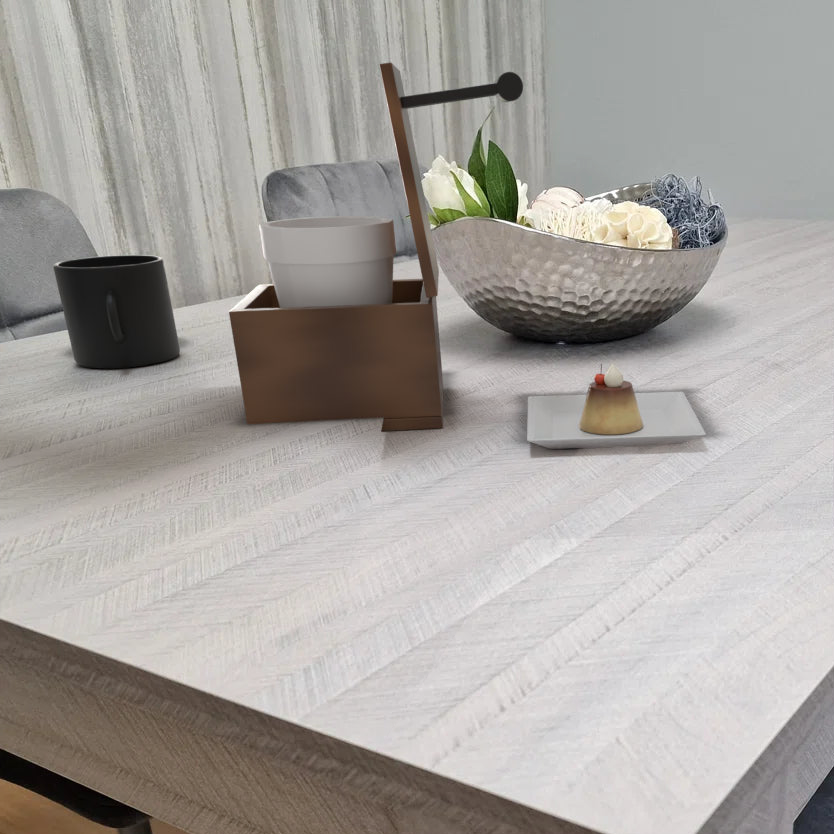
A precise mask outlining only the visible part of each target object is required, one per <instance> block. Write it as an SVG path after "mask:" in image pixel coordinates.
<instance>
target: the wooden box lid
mask: <svg viewBox="0 0 834 834" xmlns="http://www.w3.org/2000/svg"><path fill="white" fill-rule="evenodd" d="M378 65H379V70H380V74H381V75H380V76H381V79H382V84H383V90H384V95H385V101H386V105H387V110H388V114H389V121H390V124H391V125H390V126H391V130H392V134H393V135H392V136H393V139H394V144H395V149H396V154H397V155H396V156H397V160H398V164H399V170H400V175H401V179H402V185H403V188H404V195H405V199H406V204H407V208H408V209H407V210H408V214H409V218H410V223H411V228H412V234H413V239H414V244H415V248H416V253H417V259H418V263H419V268H420V273H421V279H423V283H424V288H425V293H426V297H427V298H429V297H435V296H436V297H438V295H439V275H440V274H439V273H440V271H439V264H438V260H437V254H436V249H435V244H434V239H433V233H432V229H431V222H430V218H429V213H428V208H427V202H426V198H425V193H424V187H423V183H422V176H421V172H420V167H419V162H418V161H419V160H418V156H417V152H416V147H415V141H414V136H413V132H412V125H411V120H410V116H409V110H408V109H415V108H422V107H428V106H435V105H442V104H447V103H455V102H463V101H467V100H469V101H470V100H475V99H482V98H488V97H495V98H496V99H497V100H498V101H500V102H502V103H511V102H515V101H517V100H518V99H520V98H521V96H522V94H523V92H524V82H523V80H522V78H521V77H520V76H519V74H517V73H516V72H513V71H506V72H503V73H501V75H499V76H498V77H497V78H496V79H495V80H494V82H493V83H492V82H491V83H485V84H479V85H471V86H465V87H458V88H451V89H444V90H437V91H431V92H424V93H418V94H412V95H406V94H405V89H404V84H403V80H402V75H401V71H400V69H399V68H398V67H397V66H396V65H395V64H394V63H393V62H391V61H390V62H382V63H380V64H378Z"/></svg>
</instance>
